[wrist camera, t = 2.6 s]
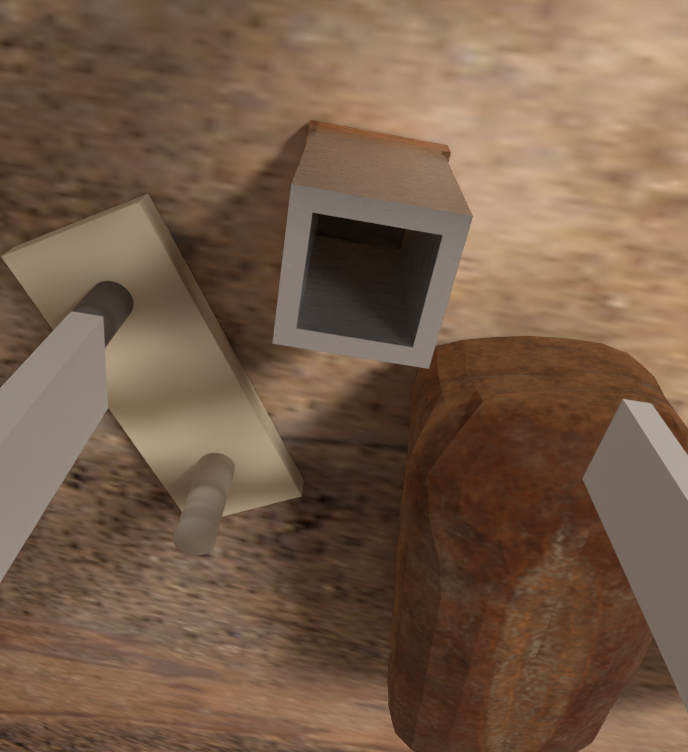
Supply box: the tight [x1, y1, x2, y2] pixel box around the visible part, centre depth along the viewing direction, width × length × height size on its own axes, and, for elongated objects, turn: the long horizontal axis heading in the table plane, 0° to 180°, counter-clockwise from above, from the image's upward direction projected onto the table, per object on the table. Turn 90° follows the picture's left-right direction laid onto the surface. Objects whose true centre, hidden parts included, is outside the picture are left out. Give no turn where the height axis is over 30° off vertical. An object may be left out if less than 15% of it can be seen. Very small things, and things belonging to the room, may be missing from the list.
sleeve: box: [272, 120, 473, 369], centre depth 25 cm, size 6×6×10 cm
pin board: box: [1, 193, 304, 555], centre depth 32 cm, size 20×8×8 cm, turn 20°
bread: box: [388, 336, 688, 752], centre depth 35 cm, size 14×28×12 cm, turn 0°
